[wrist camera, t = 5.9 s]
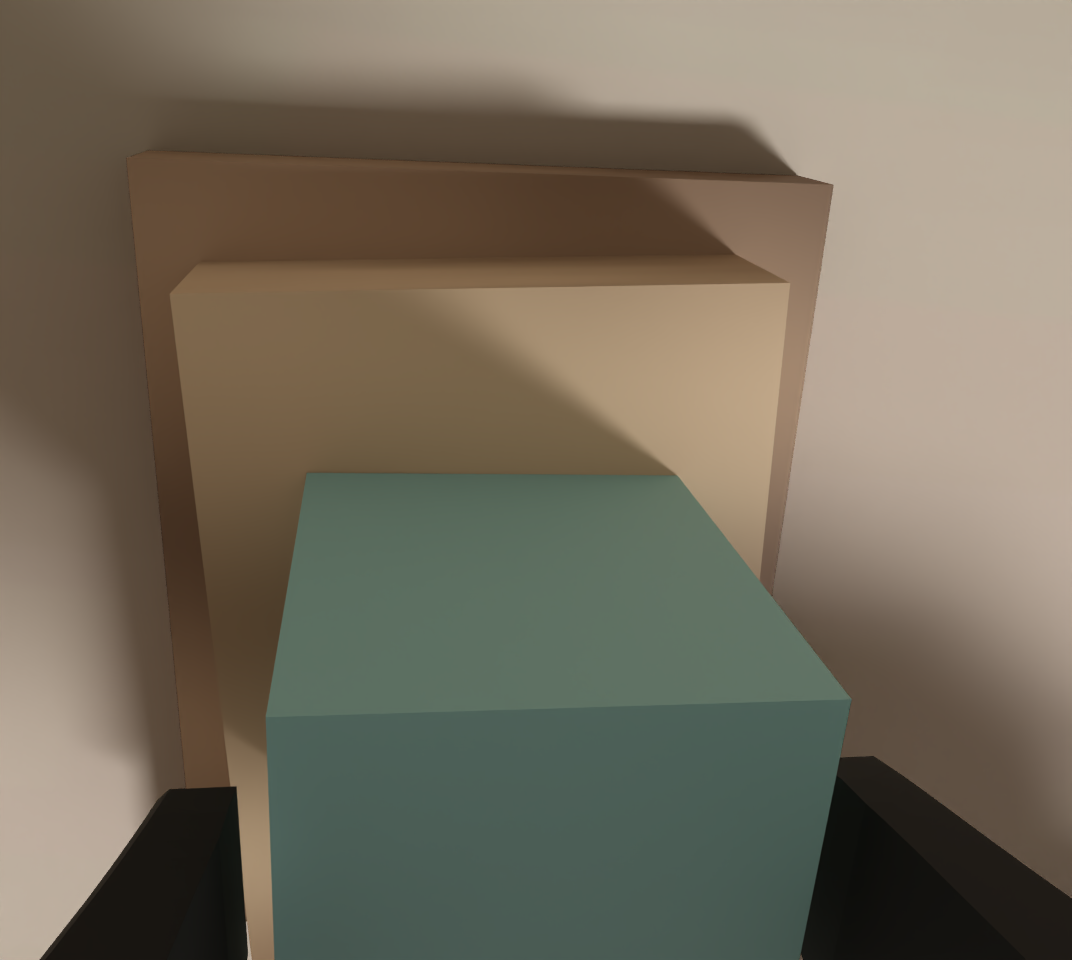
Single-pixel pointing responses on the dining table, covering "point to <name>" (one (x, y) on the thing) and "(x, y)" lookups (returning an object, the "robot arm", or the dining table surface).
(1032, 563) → the dining table surface
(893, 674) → the dining table surface
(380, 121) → the dining table surface
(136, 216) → the bottom slab
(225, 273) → the top slab
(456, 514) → the teal block
